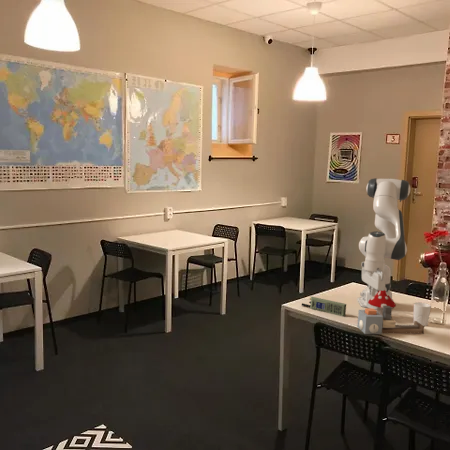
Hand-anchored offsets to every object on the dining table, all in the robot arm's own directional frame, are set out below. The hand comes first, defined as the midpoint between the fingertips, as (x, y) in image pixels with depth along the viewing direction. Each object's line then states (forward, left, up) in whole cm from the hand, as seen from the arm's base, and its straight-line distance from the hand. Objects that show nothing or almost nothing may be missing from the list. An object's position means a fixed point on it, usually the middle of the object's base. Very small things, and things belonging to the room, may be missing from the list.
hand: (372, 295), depth 230 cm
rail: (0, +15, -17) cm, 23 cm away
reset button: (0, 0, -10) cm, 10 cm away
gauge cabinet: (0, 0, -17) cm, 17 cm away
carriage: (0, +8, -15) cm, 17 cm away
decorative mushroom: (-19, +14, -18) cm, 29 cm away
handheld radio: (-30, -14, -18) cm, 37 cm away
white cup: (-10, +31, -18) cm, 37 cm away
